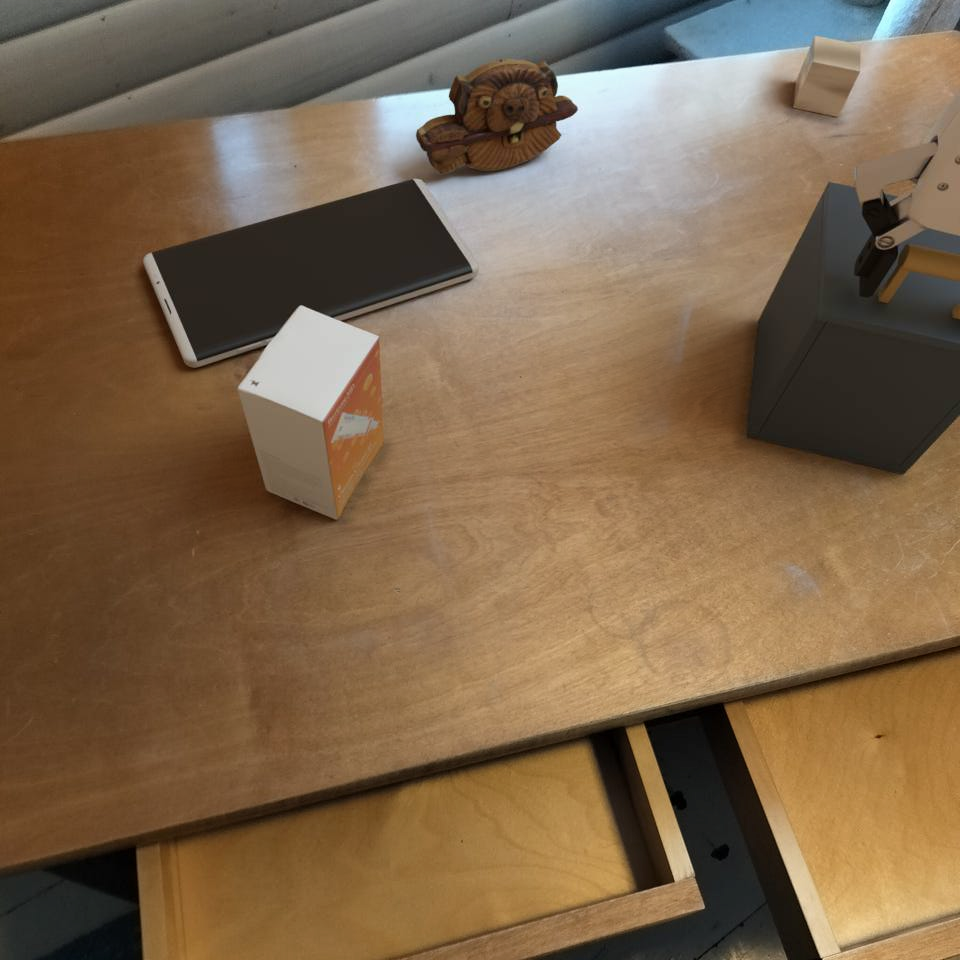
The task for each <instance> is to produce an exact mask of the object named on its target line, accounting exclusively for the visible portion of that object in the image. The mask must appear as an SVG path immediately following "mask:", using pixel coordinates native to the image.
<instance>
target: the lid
mask: <svg viewBox="0 0 960 960" xmlns="http://www.w3.org/2000/svg"><path fill="white" fill-rule="evenodd" d="M823 192H824V208H823V228H822V247H821V266H820V286H819V305H818V320H821V321H825V322H830V323H834V324H838V325H843V326H847V327H852V328H856V329H860V330H865V331H869V332H874V333H878V334H882V335H887V336H891V337H896V338H900V339H904V340H909V341H913V342H918V343H922V344H927V345H931V346H935V347H940V348H944V349H949V350H953V351H957V352H960V236H959V235H954V234H950V233H945V232H941V231H937V230H933V229H929V228H927V229H926V230H924V231H922V232H920V233H918V234H917V235H915V236H913V237H911V238H909V239H907V240H906V241H904V242H902V243H900V244H898V256H897V259H896V261H895V262H894V264H893V265H892V267H891V268H890V270H889V271H888V273H887V274H886V276H885V277H884V279H883V280H882V282H881V283H880V285H879V287H878V288H877V290H876V291H875V293H874V294H873V296H872V297H871V296H869V297H868V298H866V297H861V296H859V281H860V276H856V275H854V267H855V263H856V260H857V258H858V256H859V254H860V252H861V251H862V249H863V247H864V246H865V244H866V242H867V241H868V239H869V237H870V236H871V234H872V232H871V230H870V228H869V227H868V225H867V223H866V221H865V219H864V218H863V216H862V209H861V205H860V203H859V199H858V196H857V192H856V188H855V186H852V185H846V184H842V183H839V182H838V183H837V182H833V181H828V182H827V183H826V186H825V188H824V191H823ZM884 194H885V196H886V198H887V199H888V201H889V202H891V201H892V200H894V199H896V198H897V197H899V196H897V195H893V194H888V193H884ZM907 216H908V215H907ZM905 217H906V216H905ZM900 220H901V219H900ZM898 221H899V220H898Z"/></svg>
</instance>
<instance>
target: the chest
mask: <svg viewBox="0 0 960 960" xmlns="http://www.w3.org/2000/svg"><path fill="white" fill-rule="evenodd" d="M823 208H824V191H822V193H821V196H820V197H819V200H818V201H817V204H816V206H815V207H814V209H813V212H812V213H811V216H810V218H809V219H808V221H807V223H806V226H805V228H804V229H803V232H802V233H801V235H800V237H799V239H798V241H797V243H796V245H795V247H794V249H793V251H792V253H791V254H790V257H789V258H788V261H787V263H786V264H785V266H784V269H783V270H782V272H781V275H780V276H779V278H778V281H777V282H776V284H775V286H774V288H773V290H772V292H771V294H770V296H769V298H768V300H767V302H766V304H765V306H764V308H763V310H762V312H761V314H760V316H759V318H758V320H757V322H756V330H755V331H756V332H755V340H754V341H755V342H754V350H753V360H752V370H751V380H750V390H749V400H748V409H747V418H746V419H747V420H746V428H745V429H746V430H745V438H748V439H749V438H750V439H754V440H757V441H763V442H767V443H769V444H770V443H771V444H775V445H778V446H779V445H780V446H784V447H787V448H791V449H795V450H796V449H797V450H800V451H804V452H808V453H812V454H817V455H822V456H825V457H828V458H829V457H830V458H833V459H837V460H842V461H846V462H851V463H855V464H858V465H863V466H868V467H870V468H871V467H873V468H876V469H881V470H884V471H888V472H892V473H897V474H901V475H905V474H906V473H907V472H908V471H909V470H910V469H911V468H912V467H913V466H914V465H915V464H916V463H917V461H918V460H920V458H921V457H922V456H923V455H924V454H925V453H926V452H927V451H928V450H929V449H930V448H931V447H932V446H933V444H934V443H935V442H936V441H937V440H939V438H940V437H941V436H942V435H943V434H944V433H945V432H946V431H947V430H948V428H950V427H951V425H952V424H953V423H954V422H955V421H956V420H957V419H958V418H959V417H960V352H957V351H953V350H949V349H944V348H940V347H935V346H931V345H927V344H922V343H918V342H913V341H909V340H904V339H900V338H896V337H891V336H887V335H882V334H878V333H874V332H869V331H865V330H860V329H856V328H852V327H847V326H843V325H838V324H834V323H830V322H825V321H821V320H818V305H819V286H820V266H821V247H822V228H823Z"/></svg>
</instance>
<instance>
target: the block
mask: <svg viewBox="0 0 960 960" xmlns="http://www.w3.org/2000/svg"><path fill="white" fill-rule="evenodd" d="M861 52H862V45H861V44H859V43H855V42H850V41H844V40H839V39H835V38H830V37H826V36H819V35H814V36H813V39H812V41H811V43H810V46H809V48H808V51H807V53H806V56H805V58H804V60H803V63H802V65H801V66H800V67H801V68H800V70H799V72H798V75H797V77H796V80H795V85H794V95H793V96H794V97H793V105H792V106H793V109H797V110H801V111H807V112H810V113H811V112H813V113H817V114H821V115H826V116H831V117H836V118H839V117H840V114H841V113H842V110H843V109H844V106H845V104H846V102H847V100H848V98H849V96H850V94H851V91H852V90H853V87H854V86H855V83H856V82H857V79H858V77H859V74H860V73H861V61H862V60H861V59H862V58H861V57H862V56H861V55H862V53H861Z"/></svg>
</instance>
